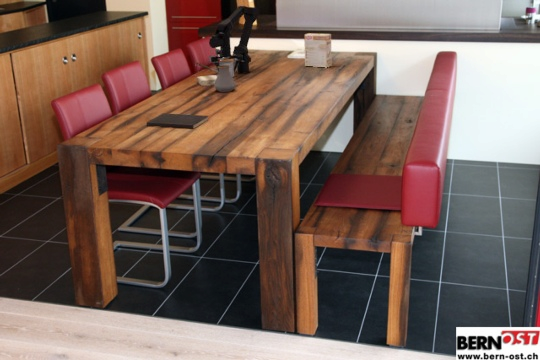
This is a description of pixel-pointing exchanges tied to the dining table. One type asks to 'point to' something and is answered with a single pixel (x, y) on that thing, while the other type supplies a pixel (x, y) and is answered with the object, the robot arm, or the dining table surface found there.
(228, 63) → the medicine box
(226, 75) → the coffee pot
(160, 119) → the hardcover book
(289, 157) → the dining table surface
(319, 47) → the coffeecake box
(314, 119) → the dining table surface
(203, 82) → the cream shallow bowl
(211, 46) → the robot arm
